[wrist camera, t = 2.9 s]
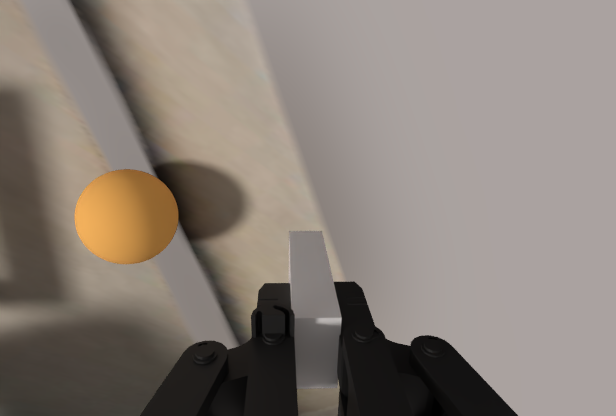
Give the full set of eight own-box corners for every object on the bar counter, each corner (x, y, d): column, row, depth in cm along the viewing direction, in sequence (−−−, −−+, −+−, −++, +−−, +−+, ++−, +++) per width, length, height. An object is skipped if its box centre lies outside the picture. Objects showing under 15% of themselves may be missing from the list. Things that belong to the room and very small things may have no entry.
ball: (190, 239, 27) (169, 281, 22) (105, 240, 27) (65, 283, 22) (183, 159, 25) (159, 185, 20) (92, 159, 25) (44, 184, 20)
